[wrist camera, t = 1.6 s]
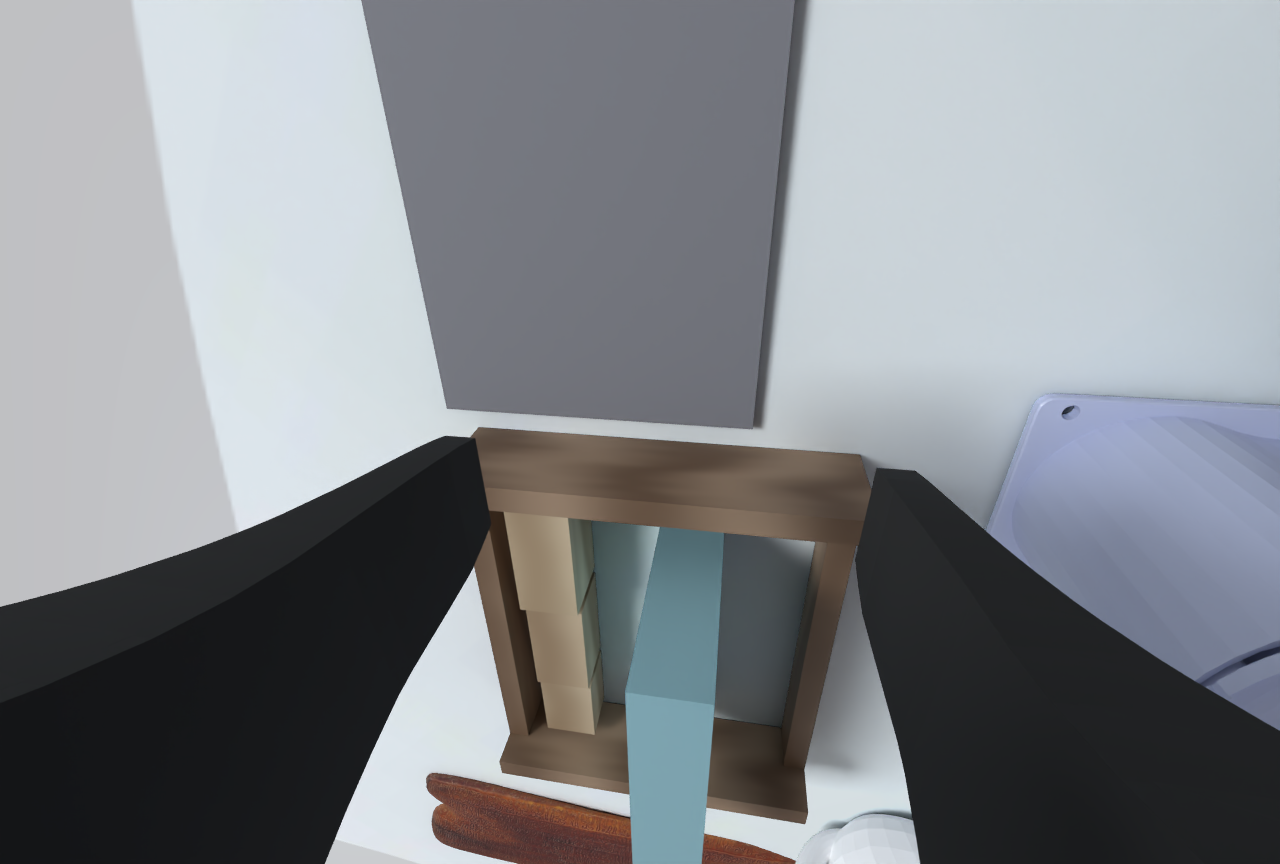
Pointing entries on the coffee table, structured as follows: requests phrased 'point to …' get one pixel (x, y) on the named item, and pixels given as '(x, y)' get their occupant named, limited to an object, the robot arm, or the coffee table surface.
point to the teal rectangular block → (674, 698)
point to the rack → (685, 499)
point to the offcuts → (560, 614)
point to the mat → (590, 197)
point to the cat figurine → (864, 842)
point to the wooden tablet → (550, 828)
